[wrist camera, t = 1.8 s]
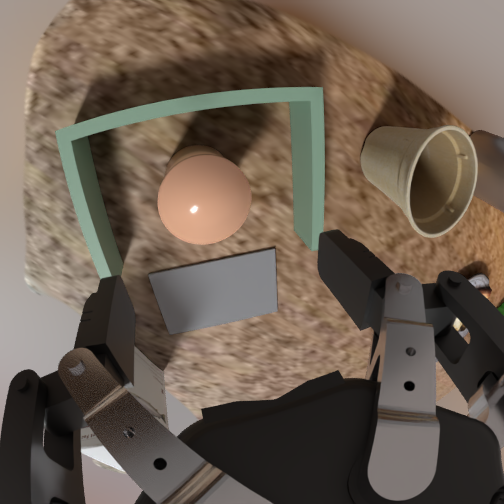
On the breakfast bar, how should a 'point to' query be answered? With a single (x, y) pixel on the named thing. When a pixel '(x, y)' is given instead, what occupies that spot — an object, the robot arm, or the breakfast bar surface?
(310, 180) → the green u-shaped frame
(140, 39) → the breakfast bar surface
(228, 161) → the tan round knob
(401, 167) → the flower pot
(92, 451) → the supplement box
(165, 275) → the slate mat
